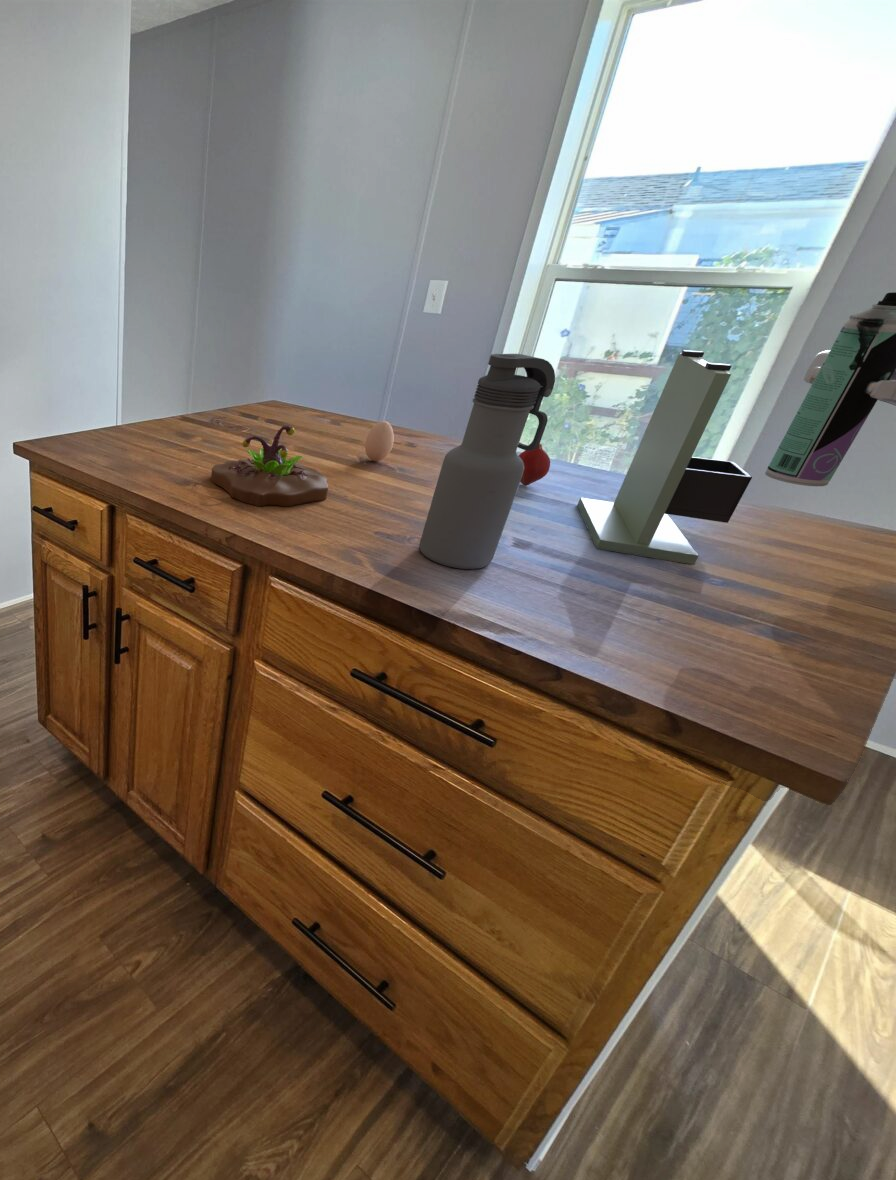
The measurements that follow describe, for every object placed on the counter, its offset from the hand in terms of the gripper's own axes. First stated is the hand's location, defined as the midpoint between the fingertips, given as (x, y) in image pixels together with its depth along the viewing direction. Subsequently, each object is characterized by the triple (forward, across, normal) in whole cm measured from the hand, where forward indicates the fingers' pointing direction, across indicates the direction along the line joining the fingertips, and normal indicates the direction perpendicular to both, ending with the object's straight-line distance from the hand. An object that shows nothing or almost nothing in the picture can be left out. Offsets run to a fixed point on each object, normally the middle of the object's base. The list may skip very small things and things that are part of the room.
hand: (840, 381), depth 72 cm
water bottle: (+29, +11, -28) cm, 42 cm away
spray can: (-1, 0, -11) cm, 11 cm away
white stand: (-5, +22, -28) cm, 36 cm away
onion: (+3, +44, -28) cm, 52 cm away
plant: (+52, +39, -28) cm, 70 cm away
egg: (+27, +57, -28) cm, 68 cm away
